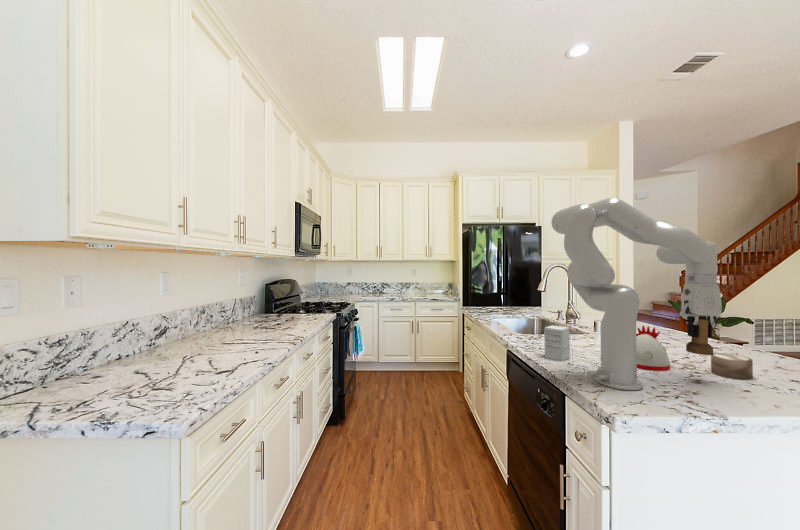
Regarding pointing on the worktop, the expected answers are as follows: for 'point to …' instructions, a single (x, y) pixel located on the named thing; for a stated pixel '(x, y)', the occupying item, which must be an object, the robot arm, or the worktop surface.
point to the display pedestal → (732, 366)
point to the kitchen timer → (650, 351)
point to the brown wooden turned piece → (700, 339)
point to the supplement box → (557, 342)
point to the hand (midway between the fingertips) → (699, 336)
